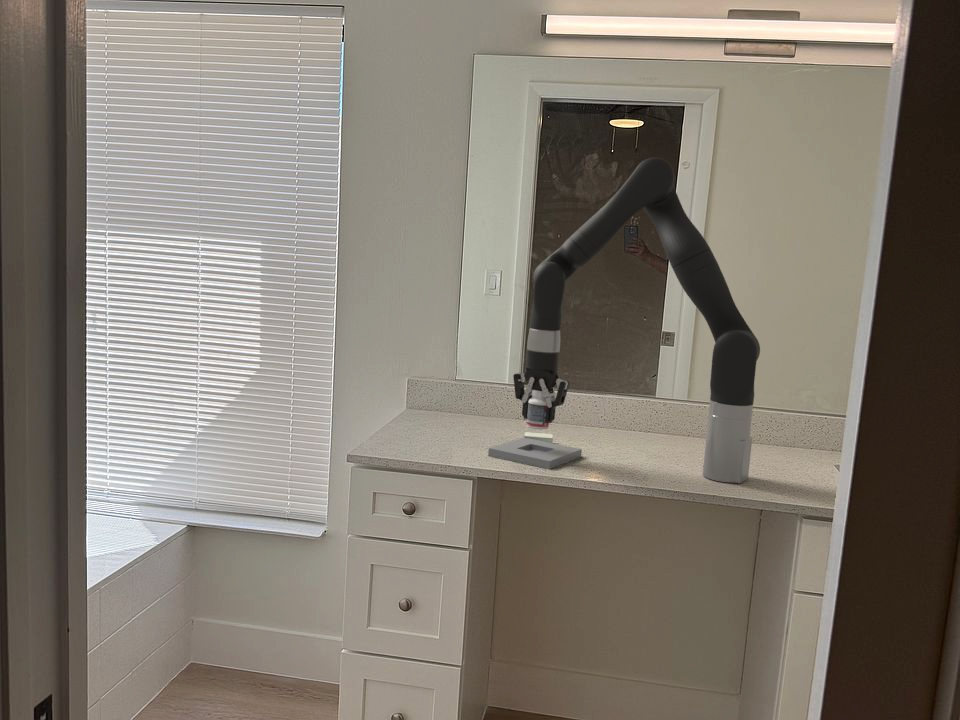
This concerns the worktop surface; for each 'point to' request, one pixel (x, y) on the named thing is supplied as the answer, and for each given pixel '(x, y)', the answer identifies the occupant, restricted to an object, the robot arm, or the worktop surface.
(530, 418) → the pill bottle
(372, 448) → the worktop surface
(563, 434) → the worktop surface
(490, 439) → the worktop surface
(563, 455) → the grey square slab
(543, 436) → the soap bar
